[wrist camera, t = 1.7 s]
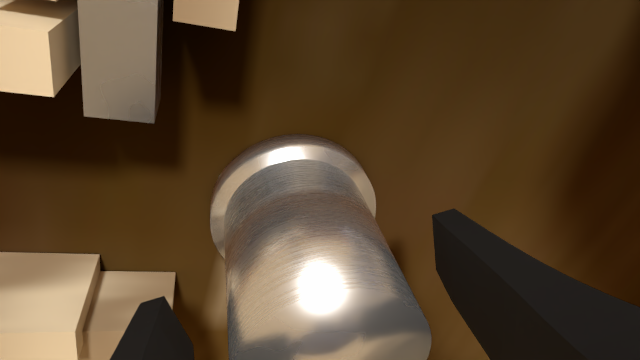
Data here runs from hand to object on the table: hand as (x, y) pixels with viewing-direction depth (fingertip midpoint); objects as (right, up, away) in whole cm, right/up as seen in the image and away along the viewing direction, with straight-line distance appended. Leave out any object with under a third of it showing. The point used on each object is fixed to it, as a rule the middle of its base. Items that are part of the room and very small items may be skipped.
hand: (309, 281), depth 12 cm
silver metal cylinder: (-1, +2, +3) cm, 3 cm away
